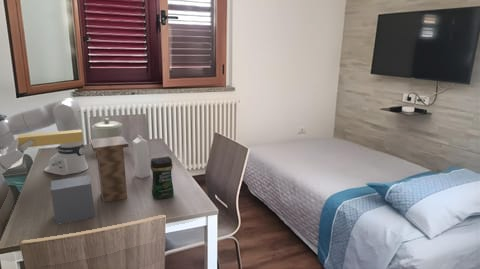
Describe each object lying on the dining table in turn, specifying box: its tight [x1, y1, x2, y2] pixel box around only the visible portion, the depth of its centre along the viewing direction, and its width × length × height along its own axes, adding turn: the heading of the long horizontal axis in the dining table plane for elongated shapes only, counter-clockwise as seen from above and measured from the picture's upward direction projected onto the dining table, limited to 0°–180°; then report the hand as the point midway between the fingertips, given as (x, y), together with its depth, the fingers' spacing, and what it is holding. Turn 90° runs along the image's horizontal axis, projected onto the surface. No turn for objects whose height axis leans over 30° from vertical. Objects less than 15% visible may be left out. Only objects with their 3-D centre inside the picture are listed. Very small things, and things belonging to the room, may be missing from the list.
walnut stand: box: [89, 135, 130, 203], centre depth 156 cm, size 14×14×26 cm
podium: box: [50, 174, 96, 225], centre depth 139 cm, size 14×10×14 cm
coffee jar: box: [150, 155, 175, 200], centre depth 157 cm, size 10×8×19 cm
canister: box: [91, 117, 123, 139], centre depth 224 cm, size 18×18×21 cm
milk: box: [132, 134, 151, 179], centre depth 181 cm, size 6×6×22 cm
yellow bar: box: [17, 129, 84, 148], centre depth 136 cm, size 22×4×4 cm, turn 117°
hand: (33, 139), depth 133 cm, fingers closed on yellow bar, 4 cm apart
